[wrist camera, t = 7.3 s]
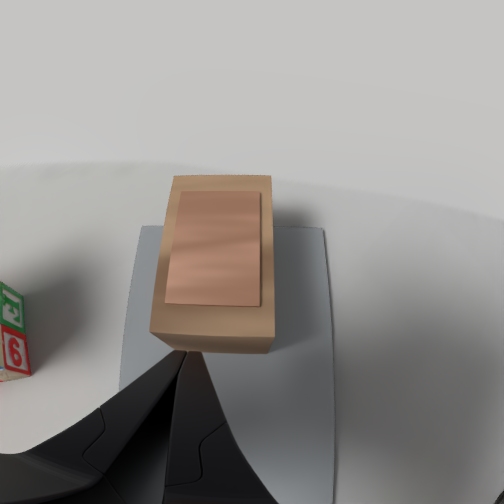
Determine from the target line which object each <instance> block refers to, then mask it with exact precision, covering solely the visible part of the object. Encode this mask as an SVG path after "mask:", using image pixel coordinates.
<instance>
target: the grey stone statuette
mask: <svg viewBox="0 0 504 504" xmlns="http://www.w3.org/2000/svg"><path fill="white" fill-rule="evenodd" d="M494 504H504V491H503V492H502V493H501V494H500V495H499V497H498V499H497V500H496V502H495V503H494Z"/></svg>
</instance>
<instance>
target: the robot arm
mask: <svg viewBox="0 0 504 504" xmlns="http://www.w3.org/2000/svg"><path fill="white" fill-rule="evenodd" d="M0 504H279V503H278V502H277V501H276V500H275V498H274V497H273V496H272V495H271V493H270V492H269V491H268V489H267V488H266V487H265V485H264V484H263V483H262V481H261V480H260V478H259V477H258V476H257V474H256V473H255V471H254V470H253V468H252V467H251V465H250V464H249V463H248V461H247V459H246V458H245V456H244V454H243V453H242V451H241V449H240V448H239V446H238V444H237V442H236V440H235V438H234V435H233V433H232V431H231V429H230V426H229V424H228V421H227V419H226V416H225V414H224V411H223V409H222V406H221V404H220V401H219V398H218V396H217V393H216V390H215V388H214V385H213V382H212V380H211V377H210V374H209V371H208V368H207V366H206V363H205V360H204V357H203V354H202V352H201V351H188V352H187V351H185V350H173V351H171V352H170V353H169V354H168V355H166V356H165V357H164V358H163V359H161V360H160V361H159V362H157V363H156V364H155V365H154V366H152V367H151V368H150V369H148V370H147V371H146V372H145V373H143V374H142V375H141V376H139V377H138V378H137V379H135V380H134V381H133V382H131V383H130V384H129V385H128V386H126V387H125V388H124V389H122V390H121V391H120V392H118V393H117V394H116V395H114V396H113V397H112V398H110V399H109V400H108V401H106V402H105V403H104V404H102V405H101V406H100V408H97V409H96V410H94V411H93V412H92V413H90V414H89V415H87V416H86V417H84V418H83V419H82V420H80V421H79V422H77V423H76V424H74V425H72V426H71V427H69V428H67V429H66V430H64V431H62V432H61V433H59V434H57V435H55V436H54V437H52V438H50V439H48V440H46V441H44V442H43V443H41V444H39V445H37V446H35V447H33V448H32V449H29V450H27V451H25V452H22V453H17V454H1V453H0Z"/></svg>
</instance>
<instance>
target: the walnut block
mask: <svg viewBox="0 0 504 504" xmlns="http://www.w3.org/2000/svg"><path fill="white" fill-rule="evenodd" d="M149 332H150V333H151V334H153V335H154V336H156V337H157V338H159V339H160V340H161V341H163V342H164V343H166V344H167V345H169V346H170V347H172V348H173V349H175V350H185V351H187V352H188V351H201V352H203V353H227V354H267V353H268V351H269V349H270V347H271V344H272V342H273V340H274V338H275V306H274V252H273V214H272V183H271V176H266V175H186V176H174V178H173V183H172V187H171V192H170V197H169V202H168V207H167V212H166V218H165V223H164V229H163V234H162V240H161V246H160V252H159V258H158V265H157V272H156V279H155V286H154V293H153V301H152V309H151V318H150V327H149Z"/></svg>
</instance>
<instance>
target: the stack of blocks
mask: <svg viewBox="0 0 504 504" xmlns="http://www.w3.org/2000/svg"><path fill="white" fill-rule="evenodd" d="M30 376H31V371H30V365H29V358H28V350H27V342H26V335H25V326H24V311H23V296H21V295H20V294H18V293H17V292H15V291H14V290H13V289H11V288H10V287H8V286H7V285H5V284H4V283H3V282H1V281H0V382H3V381H10V380H15V379H20V378H25V377H30Z"/></svg>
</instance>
